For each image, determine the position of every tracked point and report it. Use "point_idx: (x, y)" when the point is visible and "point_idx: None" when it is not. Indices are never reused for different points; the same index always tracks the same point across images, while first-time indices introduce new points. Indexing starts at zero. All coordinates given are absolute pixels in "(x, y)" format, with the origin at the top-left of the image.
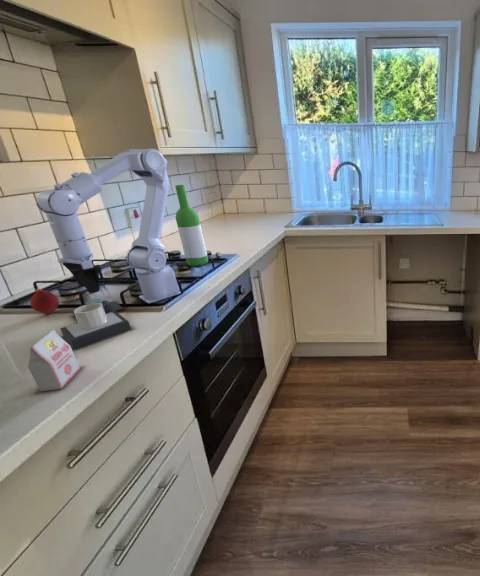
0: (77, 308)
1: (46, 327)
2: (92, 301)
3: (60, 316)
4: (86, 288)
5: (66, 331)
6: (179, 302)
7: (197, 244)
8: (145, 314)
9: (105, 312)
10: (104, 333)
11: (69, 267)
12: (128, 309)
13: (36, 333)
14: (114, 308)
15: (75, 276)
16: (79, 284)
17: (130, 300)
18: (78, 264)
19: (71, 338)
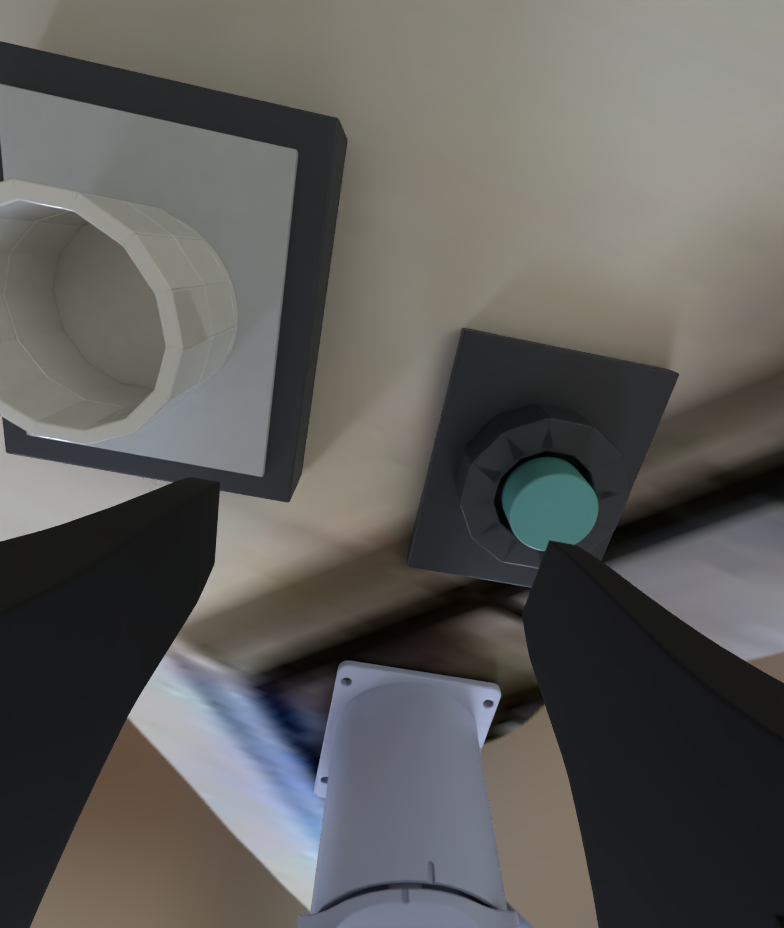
0: (134, 258)
1: (672, 154)
2: (567, 503)
3: (762, 313)
4: (146, 495)
5: (212, 114)
6: (208, 728)
7: None
8: (213, 577)
9: (448, 483)
10: None
11: (755, 770)
12: (389, 573)
13: (639, 49)
14: (453, 539)
15: (624, 626)
16: (572, 552)
17: (517, 644)
18: (685, 913)
19: (11, 61)
